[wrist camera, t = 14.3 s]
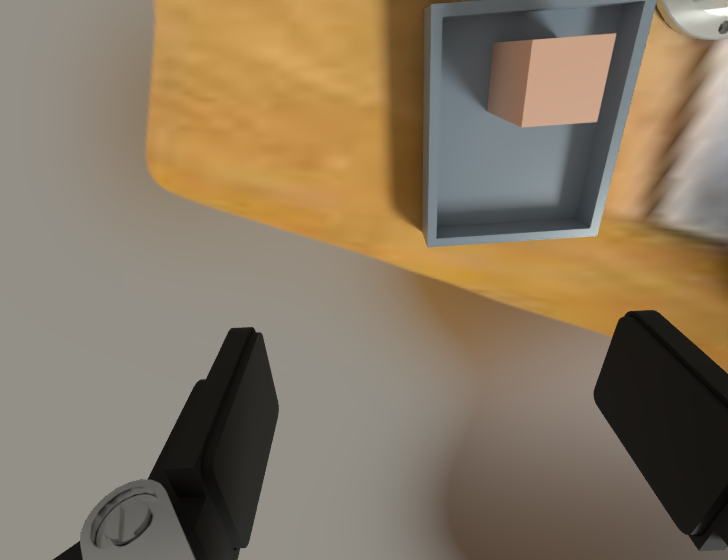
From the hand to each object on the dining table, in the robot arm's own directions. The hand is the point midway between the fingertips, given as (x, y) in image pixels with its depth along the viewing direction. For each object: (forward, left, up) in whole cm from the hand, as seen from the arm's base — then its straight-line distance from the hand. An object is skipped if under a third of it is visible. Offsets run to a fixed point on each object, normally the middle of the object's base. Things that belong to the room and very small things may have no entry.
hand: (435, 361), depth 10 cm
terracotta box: (-5, +11, -28) cm, 30 cm away
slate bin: (0, +11, -28) cm, 31 cm away
